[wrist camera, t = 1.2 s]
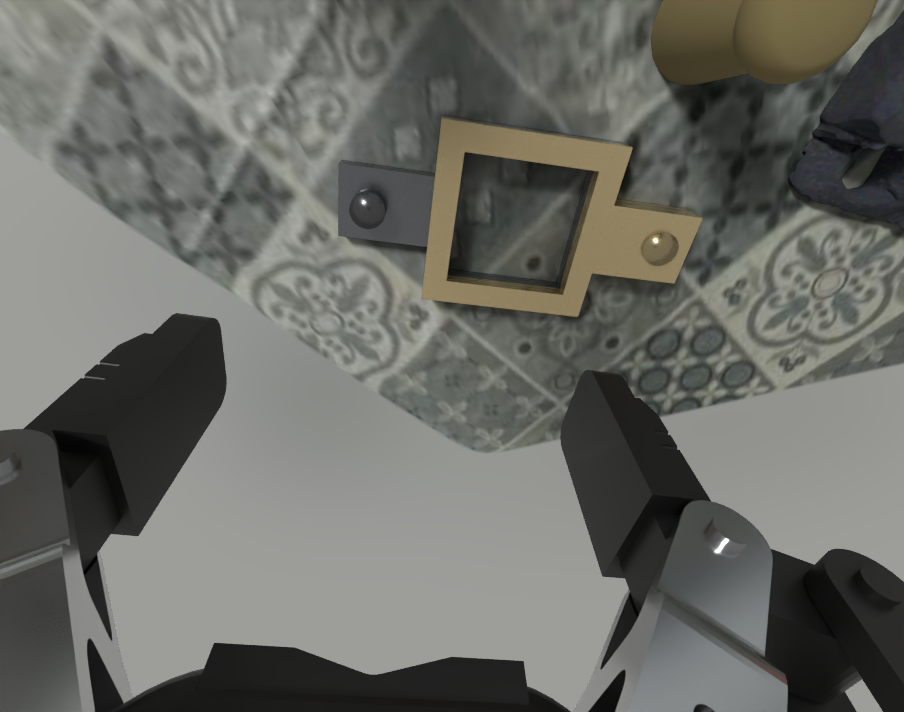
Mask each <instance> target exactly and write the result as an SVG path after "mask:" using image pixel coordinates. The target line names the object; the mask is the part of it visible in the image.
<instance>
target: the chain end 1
mask: <svg viewBox="0 0 904 712" xmlns="http://www.w3.org/2000/svg"><path fill="white" fill-rule="evenodd" d="M442 117H448V118H455V119H461V120H468V121H474V122H481V123H488V124H494V125H501V126H507V127H514V128H520V129H527V130H533V131H540V132H546V133H553V134H559V135H566V136H573V137H579V138H586V139H592V140H599V141H605V142H612V143H618V144H624V143H621V142H617V141H610V140H604V139H597V138H591V137H584V136H578V135H571V134H565V133H558V132H552V131H545V130H539V129H532V128H525V127H519V126H512V125H506V124H499V123H493V122H486V121H480V120H473V119H467V118H460V117H454V116H447V115H441V118H442ZM440 127H441V124H440ZM439 136H440V133H439ZM438 145H439V142H438ZM625 145H626V144H625ZM437 154H438V151H437ZM436 163H437V160H436ZM435 171H436V169H435ZM592 174H593V171H592V170H588V171H587V175H586V178H585V182H584V185H583V189H582V192H581V196H580V199H579V203H578V207H577V210H576V214H575V217H574V221H573V224H572V228H571V231H570V235H569V238H568V242H567V245H566V249H565V253H564V256H563V260H562V263H561V267H560V270H559V274H558V277H557V281H556V282H550V281H542V280H534V279H526V278H517V277H509V276H501V275H493V274H485V273H476V272H468V271H460V270H452V269H448V273H447V275H452V276H461V277H469V278H477V279H486V280H494V281H502V282H510V283H519V284H527V285H535V286H544V287H552V288H560V285H561V281H562V278H563V274H564V271H565V267H566V264H567V260H568V257H569V253H570V250H571V246H572V243H573V240H574V236H575V233H576V229H577V226H578V222H579V219H580V215H581V212H582V208H583V205H584V201H585V198H586V195H587V191H588V188H589V184H590V181H591V177H592ZM434 180H435V173H430V172H423V171H416V170H409V169H402V168H395V167H388V166H381V165H374V164H367V163H360V162H352V161H345V160H341V161H340V162H339V208H338V236H343V237H351V238H359V239H367V240H375V241H383V242H391V243H399V244H407V245H415V246H423V247H427V243H428V234H429V225H430V216H431V207H432V198H433V189H434ZM426 252H427V250H426ZM425 261H426V259H425ZM424 270H425V268H424ZM423 279H424V277H423ZM422 288H423V286H422Z"/></svg>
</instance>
